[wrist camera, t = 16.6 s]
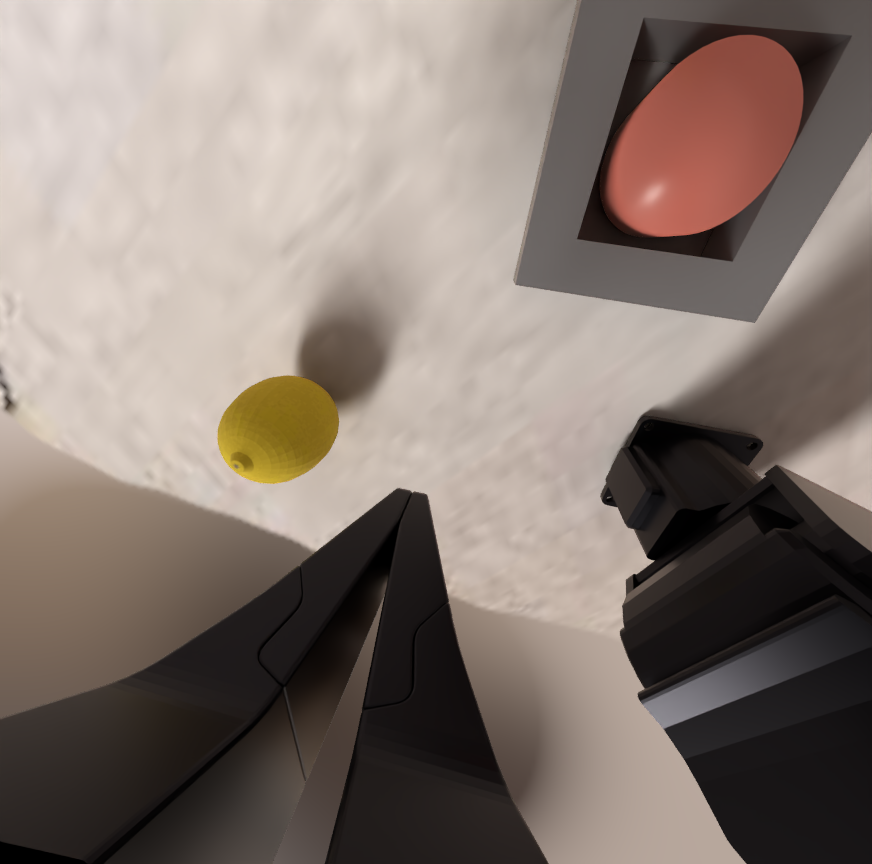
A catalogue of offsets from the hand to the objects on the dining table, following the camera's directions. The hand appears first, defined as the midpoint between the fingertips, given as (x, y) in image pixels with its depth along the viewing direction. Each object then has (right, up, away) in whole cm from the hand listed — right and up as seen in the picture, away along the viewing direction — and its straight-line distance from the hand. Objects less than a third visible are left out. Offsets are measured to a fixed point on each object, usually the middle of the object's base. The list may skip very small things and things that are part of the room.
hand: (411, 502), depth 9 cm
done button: (+10, +13, +4) cm, 17 cm away
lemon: (-7, +4, +13) cm, 16 cm away
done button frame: (+10, +13, +5) cm, 17 cm away
